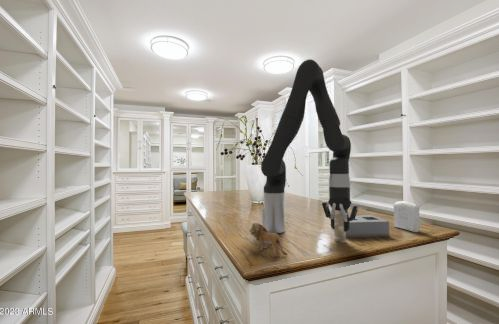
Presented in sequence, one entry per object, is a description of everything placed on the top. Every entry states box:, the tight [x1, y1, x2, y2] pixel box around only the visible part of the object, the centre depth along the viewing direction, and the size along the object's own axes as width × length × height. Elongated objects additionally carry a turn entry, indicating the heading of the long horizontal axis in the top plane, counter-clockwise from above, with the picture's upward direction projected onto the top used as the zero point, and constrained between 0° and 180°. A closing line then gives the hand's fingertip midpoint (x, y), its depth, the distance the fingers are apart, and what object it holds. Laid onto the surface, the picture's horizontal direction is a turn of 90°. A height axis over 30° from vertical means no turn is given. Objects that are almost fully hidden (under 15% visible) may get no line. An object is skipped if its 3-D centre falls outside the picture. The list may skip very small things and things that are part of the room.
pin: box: [333, 210, 347, 244], centre depth 90 cm, size 4×4×12 cm
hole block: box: [346, 214, 390, 238], centre depth 101 cm, size 18×12×6 cm, turn 93°
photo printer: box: [393, 200, 420, 233], centre depth 106 cm, size 10×4×12 cm, turn 23°
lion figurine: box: [249, 222, 288, 258], centre depth 80 cm, size 15×5×9 cm, turn 50°
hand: (340, 229), depth 90 cm, fingers closed on pin, 4 cm apart
